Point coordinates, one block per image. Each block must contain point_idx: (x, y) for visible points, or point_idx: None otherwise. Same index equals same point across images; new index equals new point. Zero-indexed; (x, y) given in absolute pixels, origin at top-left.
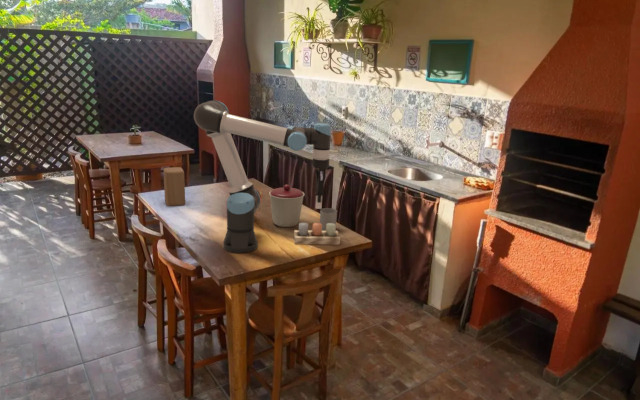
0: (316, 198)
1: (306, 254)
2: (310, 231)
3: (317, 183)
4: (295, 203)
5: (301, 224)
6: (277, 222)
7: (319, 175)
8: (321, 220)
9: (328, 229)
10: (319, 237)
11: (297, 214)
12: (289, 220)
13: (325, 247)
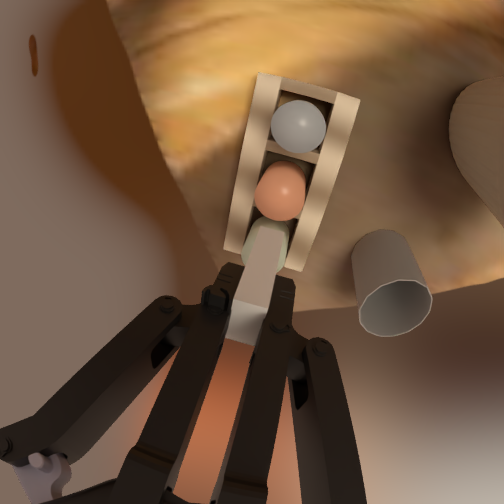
0: (241, 277)
1: (159, 98)
2: (325, 166)
3: (170, 422)
4: (497, 175)
5: (293, 113)
6: (473, 83)
7: (57, 498)
8: (387, 253)
9: (252, 232)
10: (245, 178)
11: (469, 174)
12: (456, 124)
13: (210, 180)
